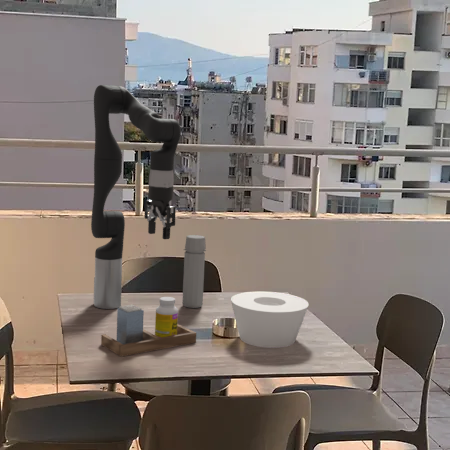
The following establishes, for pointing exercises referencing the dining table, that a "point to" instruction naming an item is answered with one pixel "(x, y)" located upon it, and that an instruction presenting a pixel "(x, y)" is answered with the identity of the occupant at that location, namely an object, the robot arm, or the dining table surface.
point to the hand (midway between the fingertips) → (158, 236)
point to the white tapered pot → (268, 318)
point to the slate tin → (129, 324)
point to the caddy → (150, 342)
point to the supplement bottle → (166, 318)
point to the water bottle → (194, 271)
